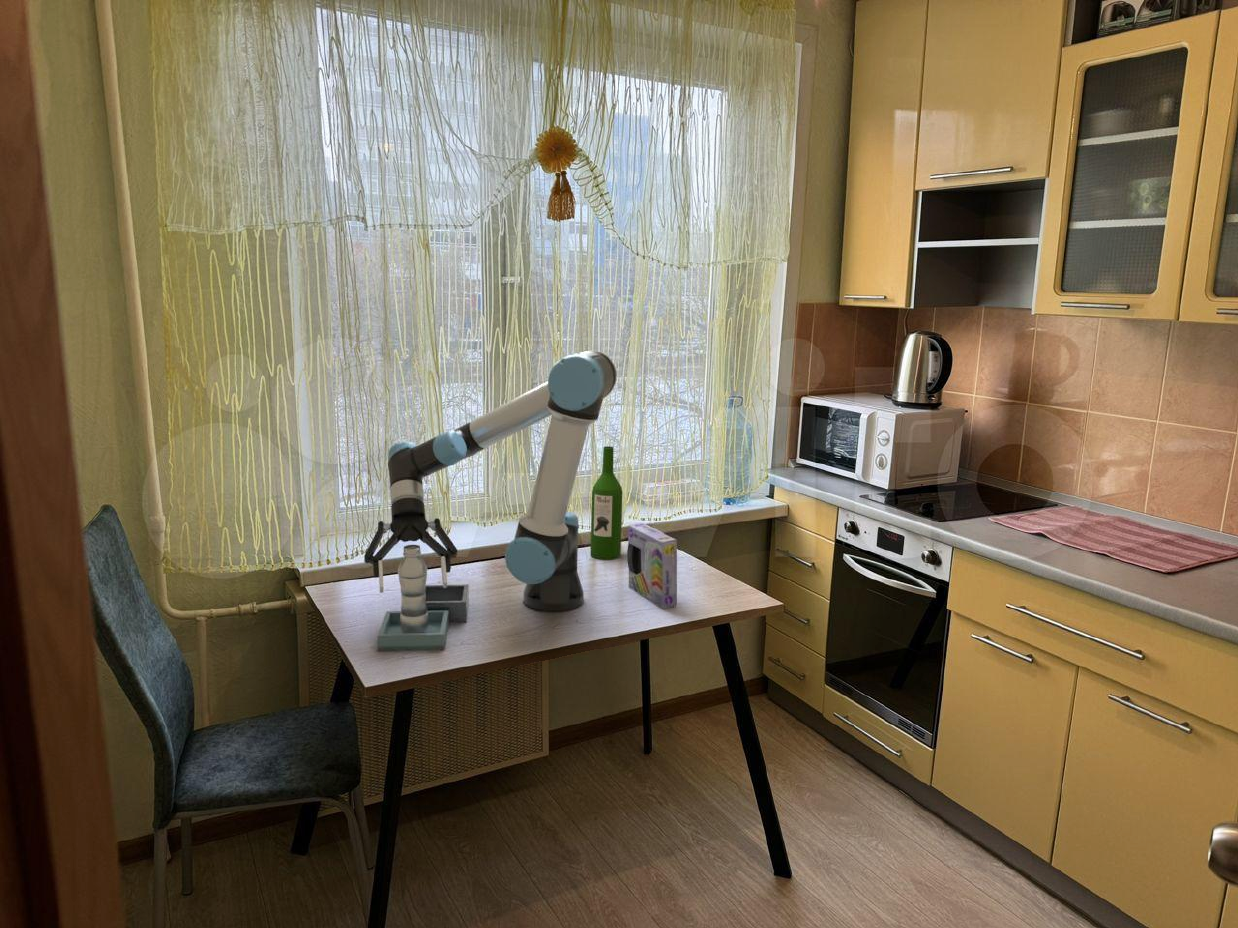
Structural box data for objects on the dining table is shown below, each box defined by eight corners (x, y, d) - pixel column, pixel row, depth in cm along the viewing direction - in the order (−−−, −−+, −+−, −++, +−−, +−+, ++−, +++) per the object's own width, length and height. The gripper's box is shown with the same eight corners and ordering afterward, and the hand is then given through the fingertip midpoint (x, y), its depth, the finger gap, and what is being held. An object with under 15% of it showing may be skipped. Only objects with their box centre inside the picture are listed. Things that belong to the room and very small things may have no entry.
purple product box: (624, 585, 230) (626, 521, 226) (641, 583, 232) (643, 520, 228) (660, 610, 213) (663, 542, 209) (677, 607, 215) (680, 539, 212)
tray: (448, 624, 201) (448, 610, 200) (444, 649, 187) (444, 634, 187) (387, 625, 199) (386, 611, 198) (377, 651, 186) (377, 635, 185)
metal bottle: (404, 640, 189) (400, 553, 184) (396, 629, 194) (393, 544, 190) (433, 635, 192) (430, 549, 187) (425, 624, 197) (422, 541, 193)
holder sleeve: (468, 603, 214) (468, 584, 213) (466, 622, 202) (466, 602, 201) (419, 604, 212) (419, 585, 211) (414, 623, 201) (413, 603, 200)
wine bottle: (587, 558, 251) (590, 449, 244) (593, 549, 260) (596, 443, 253) (617, 561, 250) (621, 450, 243) (622, 552, 258) (626, 445, 251)
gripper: (460, 509, 207) (469, 590, 196) (351, 514, 200) (354, 599, 189) (463, 493, 201) (472, 575, 190) (351, 498, 194) (354, 584, 183)
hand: (413, 587), depth 189 cm, fingers open, 13 cm apart
